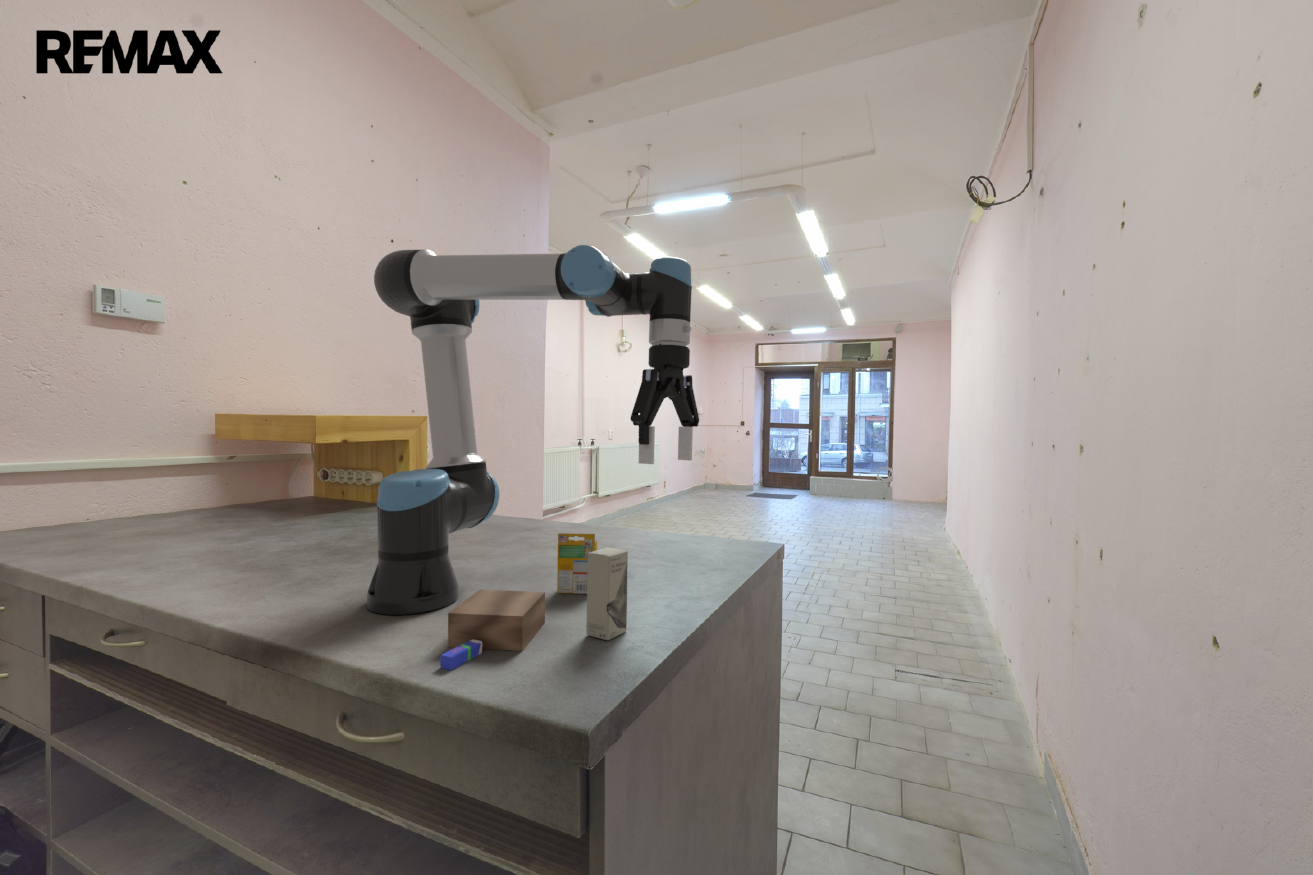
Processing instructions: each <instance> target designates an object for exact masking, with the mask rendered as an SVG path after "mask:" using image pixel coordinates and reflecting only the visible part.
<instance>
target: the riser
mask: <svg viewBox="0 0 1313 875" xmlns="http://www.w3.org/2000/svg"><path fill="white" fill-rule="evenodd" d="M545 623H546V592H544V591H522V590H521V591H520V590H501V589H498V590H497V589H479V590H477V591H476V592H474V593H473V594H472V595H471V596H469V597H468V598H466V599H465V600H464V601H463V602H461V603H460V604H459V605H457V606H456V607H454V608H453V609H452V610H450V611H449V612H448V613H447V648H451V649H453V648H456V647H458V646H460V645H462V644H464V643H466V642H468V641H470V640H472V639H474V640H479V641H482V650H490V651H491V650H493V651H495V650H496V651H515V652H523V651H524V649H525V648H527V646H528V645H529V643H530V642H531V641H532V640H533V639H534V637H535V636H536V634H537V633H538V632H539V631H540V630H541V628H542V627H543V626H544V624H545Z"/></svg>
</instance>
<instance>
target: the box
mask: <svg viewBox="0 0 1313 875" xmlns="http://www.w3.org/2000/svg"><path fill="white" fill-rule="evenodd" d="M628 555H629V554H628V550H625V549H620V548H613V547H608V546H607V547H604V548H600V549H597V550H596V551H593V552H590V553H588V569H587V570H588V571H587V594H586V621H585V622H586V625H585V626H586V630H585V633H586V635H587V636H590V637H593V638H597V639H601V640H603V641H604V640H605V641H610V640H612V639H614V638H616V637H619V636H620V635H621V634H623V633H625V632H627V630H628V629H627V623H628V621H627V618H628V613H627V612H628Z"/></svg>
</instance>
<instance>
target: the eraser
mask: <svg viewBox="0 0 1313 875" xmlns="http://www.w3.org/2000/svg"><path fill="white" fill-rule="evenodd" d="M482 653H483V649H482V641H479V640H474V639H472V640H470V641H468V642H466V643H464V644H462V645H460V646H458V647H456V648H451V649H450V650H447V651H445V652H444V653H442V654H441V655H440V658H439V660H440V661H439V662H440V668H441V669H443V668H444V669H443V670H447V669H448V670H447V671H452V670H455V668H458V667H459V666H462V665H463V664H465V663H467V662H468V661H470V660H472V659H473V658H476V657H478V656H479V655H482Z"/></svg>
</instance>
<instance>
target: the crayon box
mask: <svg viewBox="0 0 1313 875" xmlns="http://www.w3.org/2000/svg"><path fill="white" fill-rule="evenodd" d="M557 537H558V538H557V576H556V577H557V585H556V586H557V587H556V588H557V589H556V591H557V594H558V595H559V594H577V595H578V594H580V595H582V594H583V595H584V594H585V595H587V571H588V570H587V569H588V553H590V552H593V551H596V550H598V540H596V534H595V533H567V532H566V533H563V532H562V533H557ZM575 537H578V538H584V540H579V539H578V540H574V539H569V538H575Z"/></svg>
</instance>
